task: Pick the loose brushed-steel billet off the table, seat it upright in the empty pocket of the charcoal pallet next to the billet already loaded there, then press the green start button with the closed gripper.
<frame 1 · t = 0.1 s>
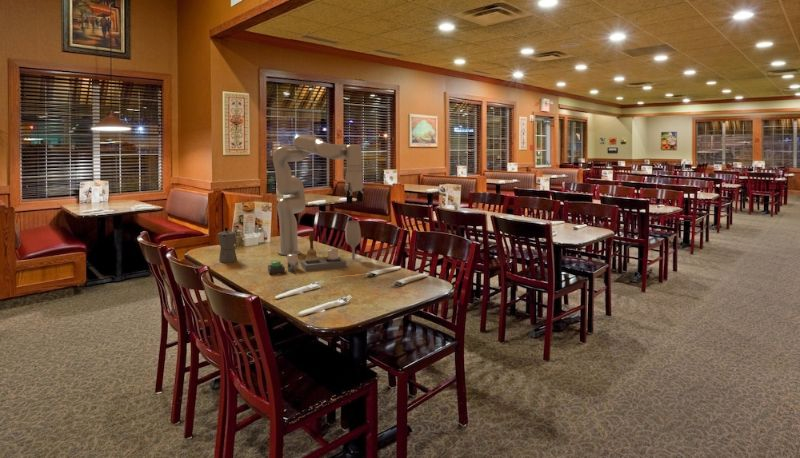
hand: (354, 202, 258), 31 cm above the table, tool pointing down, fingers open, 9 cm apart
hand bell: (311, 261, 266), on the table
start button: (276, 264, 242), point 4 cm above the table, slide at 0.0 cm
button housing: (276, 272, 242), on the table
wineglass: (353, 261, 264), on the table
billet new: (293, 270, 245), on the table
billet loaded: (333, 265, 252), point 1 cm above the table, touching pallet
pallet: (323, 267, 251), on the table
coffeepot: (228, 260, 268), on the table
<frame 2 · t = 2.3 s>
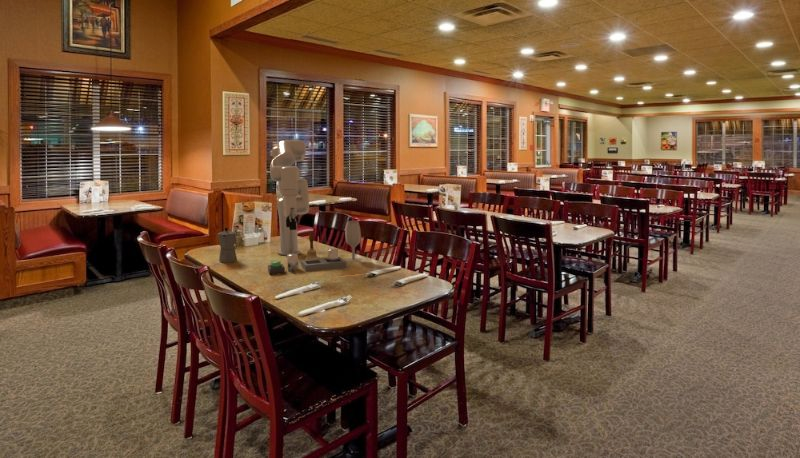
hand: (291, 228, 241), 21 cm above the table, tool pointing down, fingers open, 9 cm apart
nothing on the table moved.
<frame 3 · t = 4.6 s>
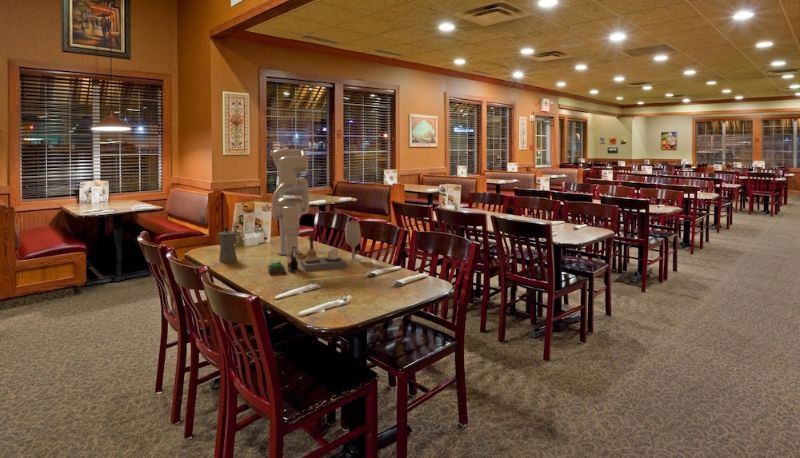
hand: (292, 267, 245), 1 cm above the table, tool pointing down, fingers closed on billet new, 5 cm apart
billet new: (293, 270, 245), on the table, touching gripper
everything else where it was.
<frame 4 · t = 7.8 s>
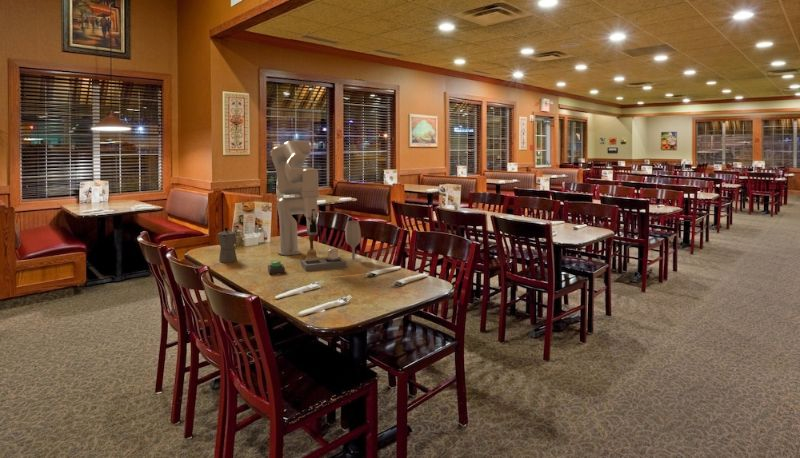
hand: (312, 231, 246), 19 cm above the table, tool pointing down, fingers closed on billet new, 5 cm apart
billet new: (312, 234, 246), point 17 cm above the table, touching gripper
everything else where it was.
when the fingers open (4 cm above the table, at t = 10.9 s): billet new drops 2 cm, resting on pallet.
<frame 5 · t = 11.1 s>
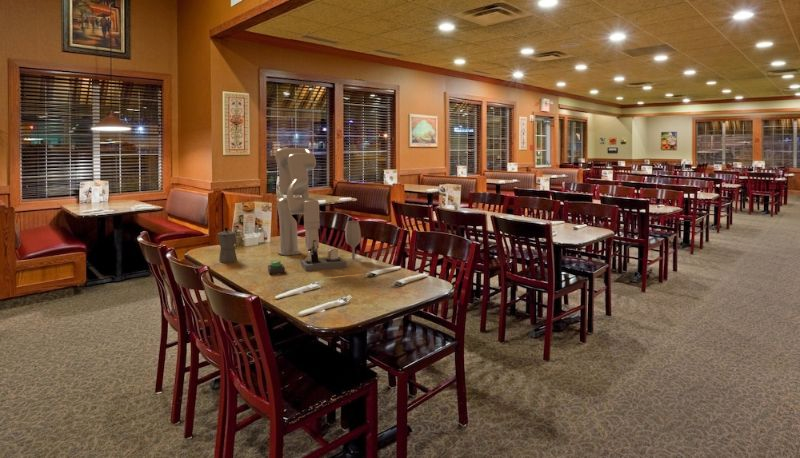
hand: (313, 260, 248), 4 cm above the table, tool pointing down, fingers open, 7 cm apart
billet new: (313, 267, 249), point 1 cm above the table, touching pallet
everything else where it was.
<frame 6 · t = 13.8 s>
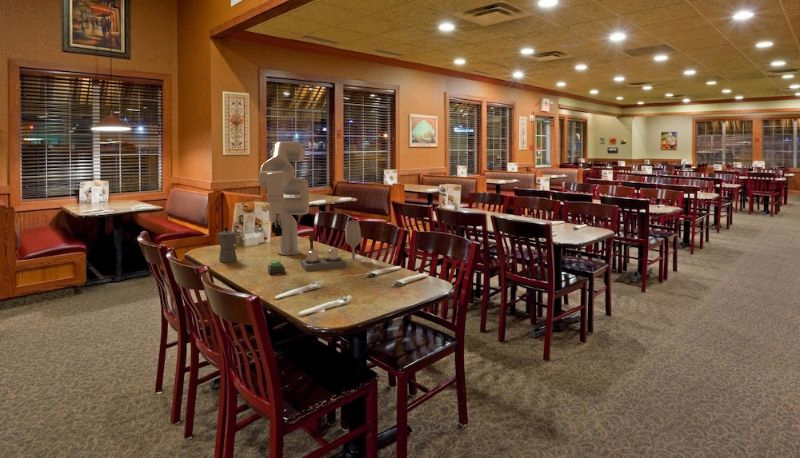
hand: (277, 234, 239), 19 cm above the table, tool pointing down, fingers open, 9 cm apart
nothing on the table moved.
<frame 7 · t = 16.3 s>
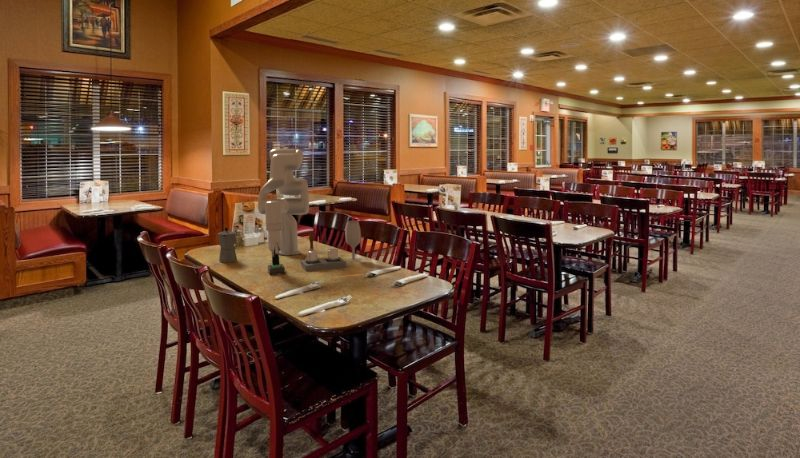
hand: (275, 264, 241), 4 cm above the table, tool pointing down, fingers closed
start button: (276, 267, 242), point 3 cm above the table, slide at -1.1 cm, touching gripper
everything else where it was.
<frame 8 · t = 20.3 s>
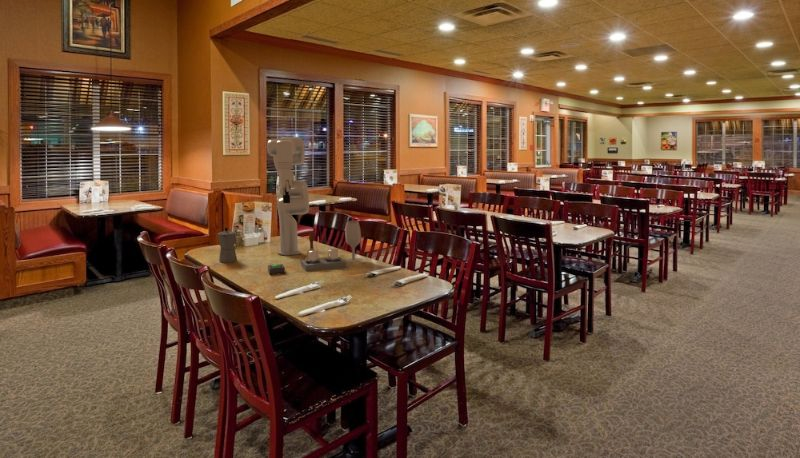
hand: (286, 203, 250), 32 cm above the table, tool pointing down, fingers closed
start button: (276, 267, 242), point 2 cm above the table, slide at -1.3 cm
everything else where it was.
at the end: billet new 0.1 cm from the target spot on the pallet, point 0.9 cm above the pallet's base; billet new tilted 3°; start button slide at -1.3 cm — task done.
